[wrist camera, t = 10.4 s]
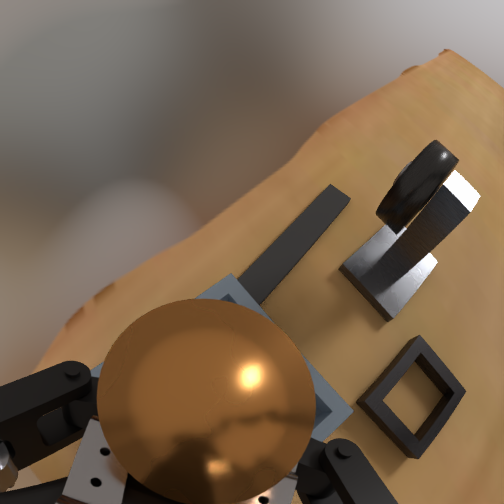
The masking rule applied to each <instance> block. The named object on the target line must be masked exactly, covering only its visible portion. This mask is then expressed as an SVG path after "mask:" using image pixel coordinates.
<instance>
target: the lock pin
mask: <svg viewBox="0 0 504 504" xmlns="http://www.w3.org/2000/svg"><path fill="white" fill-rule="evenodd" d="M97 410H98V416H99V422H100V425H101V428H102V431H103V434H104V437H105V439H106V441H107V443H108V445H109V447H110V449H111V451H112V452H113V454H114V455H115V457H116V458H117V460H118V461H119V463H120V464H121V465H122V466H123V467H124V468H125V469H126V471H127V472H128V473H129V474H131V475H132V476H133V477H134V478H135V479H136V480H137V481H138V482H140V483H141V484H143V485H144V486H146V487H147V488H149V489H150V490H152V491H154V492H156V493H158V494H160V495H162V496H164V497H166V498H169V499H172V500H175V501H178V502H182V503H186V504H234V503H239V502H242V501H245V500H248V499H251V498H254V497H256V496H258V495H260V494H262V493H264V492H266V491H267V490H269V489H270V488H272V487H273V486H275V485H276V484H278V483H279V482H280V481H281V480H282V479H283V478H284V477H286V476H287V475H288V474H289V473H290V471H291V470H292V469H293V468H294V467H295V466H296V464H297V463H298V461H299V460H300V458H301V457H302V455H303V453H304V452H305V450H306V447H307V445H308V443H309V441H310V438H311V435H312V431H313V428H314V422H315V415H316V397H315V390H314V384H313V381H312V377H311V374H310V371H309V369H308V366H307V364H306V362H305V360H304V358H303V356H302V354H301V353H300V351H299V349H298V348H297V347H296V345H295V344H294V343H293V341H292V340H291V339H290V338H289V337H288V336H287V335H286V334H285V333H284V332H283V331H282V330H281V329H280V328H279V327H278V326H277V325H276V324H274V323H273V322H272V321H270V320H269V319H268V318H266V317H264V316H263V315H261V314H259V313H258V312H256V311H254V310H251V309H249V308H247V307H245V306H242V305H239V304H235V303H232V302H228V301H223V300H218V299H204V298H203V299H188V300H182V301H176V302H173V303H169V304H166V305H163V306H161V307H158V308H156V309H154V310H152V311H150V312H148V313H146V314H145V315H143V316H141V317H140V318H138V319H137V320H136V321H135V322H133V323H132V324H131V325H130V326H129V327H128V328H127V329H126V330H125V331H124V332H123V333H122V334H121V335H120V336H119V337H118V339H117V340H116V341H115V343H114V344H113V345H112V347H111V349H110V351H109V352H108V354H107V356H106V358H105V361H104V363H103V366H102V368H101V372H100V376H99V380H98V388H97Z"/></svg>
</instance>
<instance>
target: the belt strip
mask: <svg viewBox="0 0 504 504" xmlns="http://www.w3.org/2000/svg"><path fill="white" fill-rule="evenodd" d="M350 199H351V198H349V197H348V196H347V195H345V194H344V193H342V192H341V191H340V190H338V189H337V188H335V187H334V186H333V185H331V184H330V185H329V186H328V187H327V188H326V189H325V190H324V191H323V192H322V193H321V194H320V195H319V196H318V197H317V198H316V199H315V200H314V201H313V202H312V203H311V204H310V205H309V207H308V208H307V209H306V210H305V211H304V212H303V213H302V214H301V215H300V216H299V217H298V218H297V219H296V220H295V221H294V222H293V223H292V224H291V225H290V226H289V227H288V228H287V229H286V230H285V231H284V232H283V233H282V234H281V235H280V236H279V237H278V239H277V240H276V241H275V242H274V243H273V244H272V245H271V246H270V247H269V248H268V249H267V250H266V251H265V252H264V253H263V254H262V255H261V256H260V257H259V258H258V259H257V260H256V261H255V262H254V263H253V264H252V265H251V266H250V267H249V268H248V269H247V270H246V271H245V272H244V273H243V274H242V275H241V276H240V277H239V279H238V282H239V283H240V284H241V285H242V286H243V287H244V289H245V290H246V291H247V292H248V293H249V294H250V296H251V297H252V298H253V299H254V300H255V301H256V303H257V304H258V305H260V304H261V303H262V302H263V301H264V300H265V299H266V298H267V297H268V295H269V294H270V293H271V292H272V291H273V290H274V289H275V288H276V287H277V285H278V284H279V283H280V282H281V281H282V280H283V279H284V278H285V276H286V275H287V274H288V273H289V272H290V271H291V270H292V268H293V267H294V266H295V265H296V264H297V263H298V262H299V260H300V259H301V258H302V257H303V256H304V255H305V254H306V252H307V251H308V250H309V249H310V248H311V247H312V245H313V244H314V243H315V242H316V241H317V240H318V238H319V237H320V236H321V235H322V234H323V233H324V231H325V230H326V229H327V228H328V227H329V226H330V224H331V223H332V222H333V221H334V220H335V218H336V217H337V216H338V215H339V214H340V212H341V211H342V210H343V209H344V208H345V206H346V205H347V204H348V203H349V201H350Z"/></svg>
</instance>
